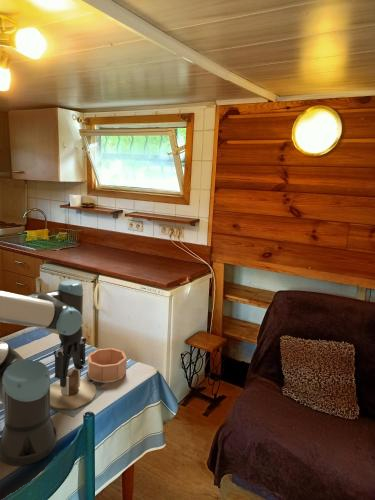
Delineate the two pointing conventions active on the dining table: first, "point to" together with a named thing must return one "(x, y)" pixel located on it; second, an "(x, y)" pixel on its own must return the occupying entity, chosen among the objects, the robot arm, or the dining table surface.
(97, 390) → the mat
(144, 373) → the dining table surface
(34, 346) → the dining table surface
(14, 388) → the robot arm
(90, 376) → the bowl
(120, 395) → the dining table surface
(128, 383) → the dining table surface
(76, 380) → the lid
